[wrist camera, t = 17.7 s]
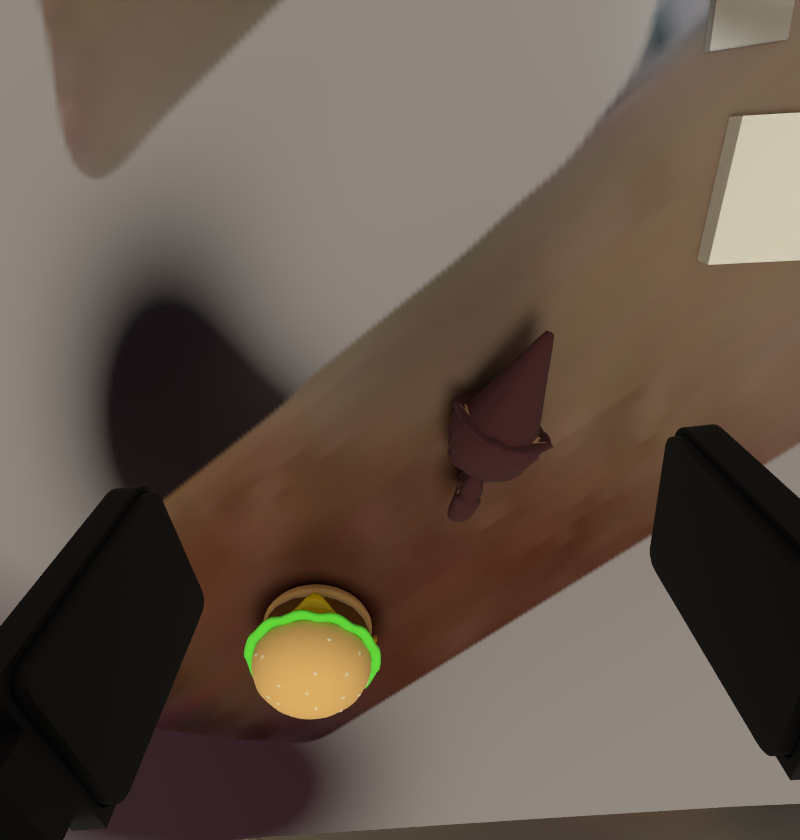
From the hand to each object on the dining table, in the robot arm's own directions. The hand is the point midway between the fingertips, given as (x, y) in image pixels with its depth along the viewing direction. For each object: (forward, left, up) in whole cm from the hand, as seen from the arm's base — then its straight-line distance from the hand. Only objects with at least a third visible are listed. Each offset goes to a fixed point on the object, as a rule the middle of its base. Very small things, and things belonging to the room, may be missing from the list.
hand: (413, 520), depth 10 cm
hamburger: (+33, -12, -27) cm, 44 cm away
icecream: (+12, +5, -27) cm, 30 cm away
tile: (-5, +23, -26) cm, 35 cm away
